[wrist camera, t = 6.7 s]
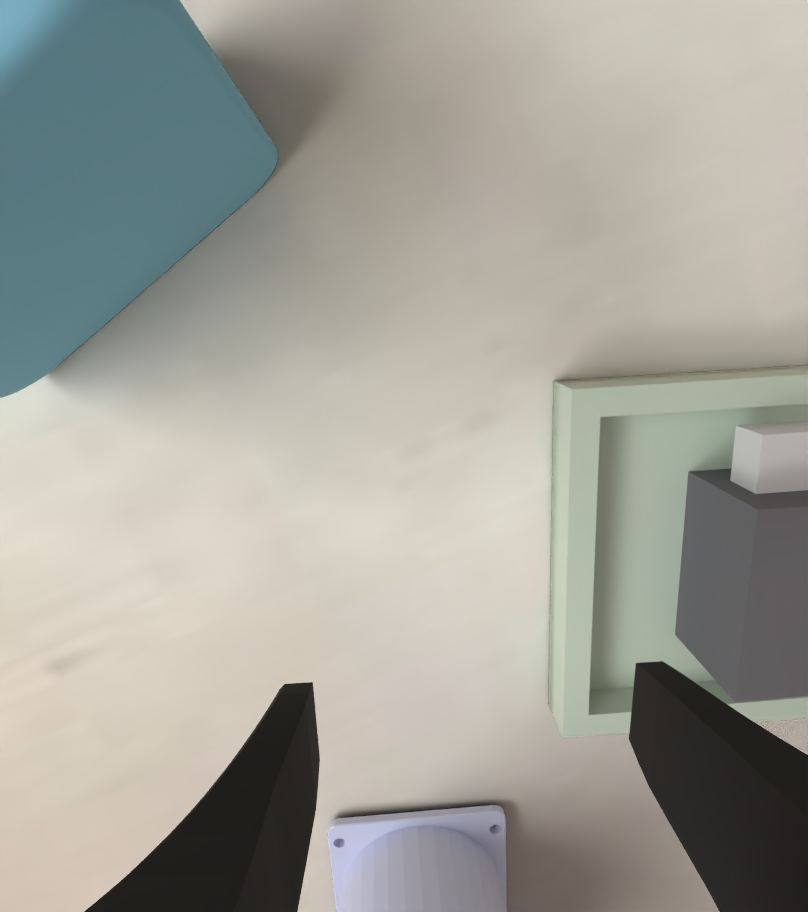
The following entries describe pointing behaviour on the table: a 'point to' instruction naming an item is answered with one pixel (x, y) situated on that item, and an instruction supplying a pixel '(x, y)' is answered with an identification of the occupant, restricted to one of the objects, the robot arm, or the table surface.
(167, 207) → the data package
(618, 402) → the tray
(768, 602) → the plug
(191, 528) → the table surface
